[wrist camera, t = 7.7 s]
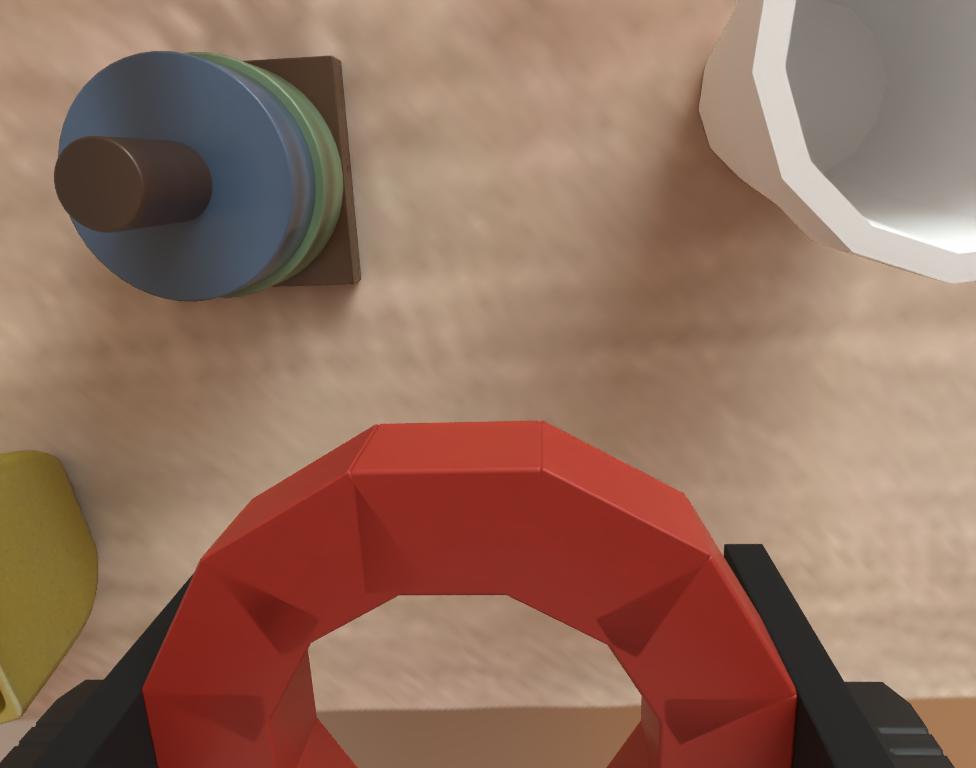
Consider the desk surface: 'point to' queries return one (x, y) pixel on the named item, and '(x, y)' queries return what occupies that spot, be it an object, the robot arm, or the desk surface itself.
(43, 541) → the flower pot
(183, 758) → the ring
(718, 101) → the foam cup
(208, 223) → the stacking post
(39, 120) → the desk surface
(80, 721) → the robot arm
